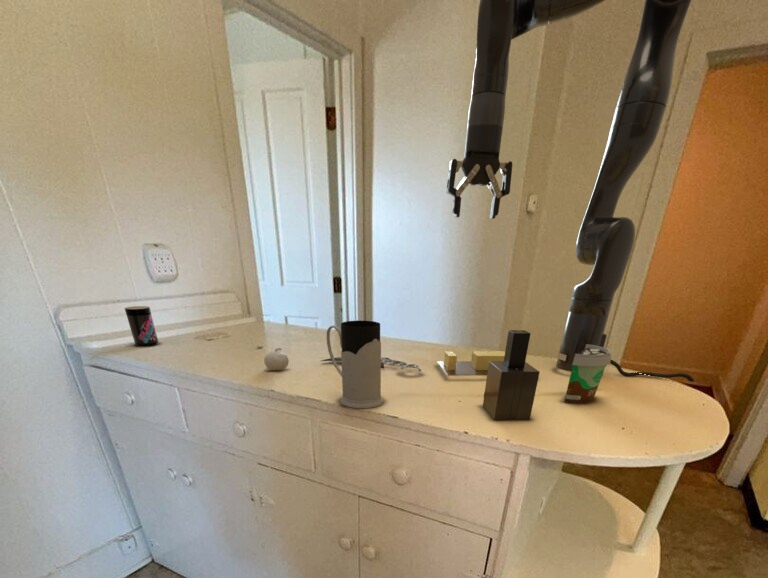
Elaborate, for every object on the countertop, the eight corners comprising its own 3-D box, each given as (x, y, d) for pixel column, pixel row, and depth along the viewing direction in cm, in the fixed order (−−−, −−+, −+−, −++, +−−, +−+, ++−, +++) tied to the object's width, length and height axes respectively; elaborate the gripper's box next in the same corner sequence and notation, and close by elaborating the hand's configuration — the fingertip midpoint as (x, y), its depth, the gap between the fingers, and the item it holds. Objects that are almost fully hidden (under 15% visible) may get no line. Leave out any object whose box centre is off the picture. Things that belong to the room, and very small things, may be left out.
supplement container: (135, 347, 128) (124, 309, 122) (134, 343, 133) (123, 306, 127) (160, 345, 131) (150, 308, 125) (157, 341, 136) (148, 305, 130)
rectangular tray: (516, 365, 116) (517, 360, 115) (535, 379, 104) (536, 374, 104) (436, 365, 114) (437, 361, 114) (447, 380, 103) (447, 375, 102)
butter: (508, 365, 111) (510, 351, 109) (514, 370, 107) (516, 355, 105) (470, 365, 111) (472, 351, 109) (475, 370, 106) (477, 355, 104)
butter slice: (451, 365, 110) (452, 351, 108) (455, 370, 106) (457, 355, 104) (443, 365, 110) (445, 351, 108) (447, 370, 106) (448, 355, 104)
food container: (593, 409, 86) (608, 358, 81) (562, 403, 89) (574, 354, 84) (603, 394, 95) (617, 347, 90) (574, 389, 98) (586, 343, 92)
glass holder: (361, 411, 83) (360, 329, 75) (315, 395, 91) (309, 320, 83) (391, 401, 89) (393, 323, 81) (345, 387, 97) (342, 315, 89)
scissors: (318, 358, 114) (339, 349, 121) (319, 364, 114) (339, 355, 122) (414, 374, 102) (431, 363, 110) (414, 381, 103) (430, 369, 110)
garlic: (287, 366, 112) (285, 345, 109) (290, 371, 108) (288, 349, 105) (264, 367, 110) (261, 346, 107) (266, 373, 106) (263, 351, 103)
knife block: (515, 405, 88) (524, 360, 83) (529, 419, 81) (539, 371, 76) (482, 406, 87) (489, 360, 82) (494, 420, 80) (501, 371, 75)
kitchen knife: (509, 407, 85) (523, 329, 78) (516, 414, 82) (531, 333, 74) (495, 407, 85) (507, 329, 77) (501, 414, 82) (515, 333, 74)
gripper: (456, 120, 87) (448, 216, 96) (523, 123, 88) (509, 218, 97) (448, 128, 93) (441, 217, 102) (511, 131, 95) (499, 219, 103)
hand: (474, 217), depth 100 cm, fingers open, 8 cm apart
